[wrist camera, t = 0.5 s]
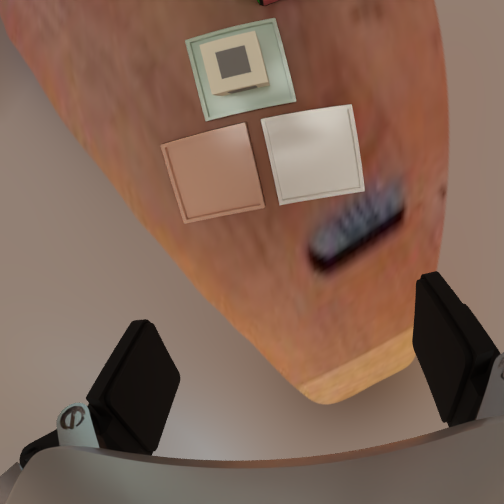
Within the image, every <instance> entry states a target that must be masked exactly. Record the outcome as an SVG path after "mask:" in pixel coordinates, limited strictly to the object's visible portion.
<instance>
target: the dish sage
mask: <svg viewBox="0 0 504 504" xmlns="http://www.w3.org/2000/svg"><path fill="white" fill-rule="evenodd" d="M251 31H255V32H256V35H257V37H258V40H259V44H260V47H261V51H262V55H263V59H264V63H265V67H266V71H267V75H268V79H269V83H270V86H265V87H260V88H255V89H251V90H246V91H242V92H238V93H233V94H229V95H225V96H216V95H212V93H211V89H210V85H209V81H208V77H207V73H206V69H205V66H204V62H203V58H202V54H201V50H200V46H199V45H201V44H204V43H207V42H211V41H215V40H218V39H222V38H226V37H230V36H234V35H238V34H242V33H247V32H251ZM185 42H186V46H187V50H188V54H189V58H190V62H191V66H192V70H193V74H194V78H195V82H196V86H197V90H198V94H199V98H200V102H201V106H202V109H203V113H204V117H205V121H210V120H213V119H217V118H221V117H225V116H229V115H233V114H238V113H242V112H246V111H251V110H255V109H260V108H265V107H270V106H275V105H280V104H286V103H291V102H296V97H295V93H294V89H293V84H292V80H291V76H290V72H289V68H288V64H287V60H286V56H285V52H284V48H283V44H282V41H281V37H280V33H279V30H278V26H277V22H276V19H275V18H271V19H266V20H261V21H256V22H251V23H247V24H242V25H238V26H234V27H230V28H226V29H222V30H218V31H215V32H211V33H207V34H204V35H201V36H197V37H194V38H191V39H188V40H185Z"/></svg>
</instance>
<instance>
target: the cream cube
mask: <svg viewBox="0 0 504 504" xmlns="http://www.w3.org/2000/svg"><path fill="white" fill-rule="evenodd" d="M199 46H200V50H201V54H202V58H203V62H204V66H205V69H206V73H207V77H208V81H209V85H210V89H211V93H212V95H216V96H225V95H229V94H233V93H238V92H242V91H246V90H251V89H255V88H260V87H265V86H270V83H269V79H268V75H267V71H266V67H265V63H264V59H263V55H262V51H261V47H260V44H259V40H258V37H257V35H256V32H255V31H251V32H247V33H242V34H238V35H234V36H230V37H226V38H222V39H218V40H215V41H211V42H207V43H204V44H201V45H199Z"/></svg>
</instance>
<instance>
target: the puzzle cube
mask: <svg viewBox="0 0 504 504" xmlns="http://www.w3.org/2000/svg"><path fill="white" fill-rule="evenodd" d="M257 1H258V2H259V4H260V5H263V6H265V5H267V4H270V3H273V2H276V1H279V0H257Z"/></svg>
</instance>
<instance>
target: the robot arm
mask: <svg viewBox="0 0 504 504" xmlns="http://www.w3.org/2000/svg"><path fill="white" fill-rule="evenodd" d="M412 342H413V348H414V351H415V353H416V356H417V358H418V360H419V363H420V365H421V368H422V370H423V372H424V375H425V377H426V380H427V382H428V385H429V387H430V390H431V393H432V395H433V398H434V401H435V403H436V406H437V409H438V412H439V414H440V417H441V419H442V421H443V422H444V423H445V422H447V423H448V426H449V428H446V429H443V430H439V431H436V432H433V433H429V434H426V435H422V436H418V437H414V438H410V439H406V440H402V441H398V442H394V443H389V444H385V445H381V446H376V447H371V448H366V449H361V450H355V451H349V452H342V453H336V454H329V455H321V456H313V457H302V458H291V459H276V460H255V461H254V460H252V461H217V460H194V459H178V458H167V457H158V456H152V453H153V451H155V450H156V449H157V447H158V444H159V441H160V438H161V435H162V432H163V429H164V426H165V423H166V420H167V418H168V415H169V412H170V409H171V406H172V403H173V400H174V397H175V394H176V391H177V389H178V386H179V383H180V374H179V371H178V370H177V368H176V366H175V364H174V362H173V361H172V359H171V357H170V355H169V353H168V351H167V349H166V347H165V346H164V343H163V341H162V339H161V337H160V335H159V333H158V331H157V330H156V327H155V326H154V324H153V323H150V321H148V320H146V319H145V320H135V321H132V322H131V324H130V325H129V327H128V328H127V330H126V332H125V333H124V335H123V336H122V338H121V339H120V341H119V343H118V345H117V346H116V348H115V349H114V351H113V353H112V354H111V356H110V358H109V359H108V361H107V363H106V364H105V366H104V367H103V369H102V371H101V372H100V374H99V376H98V378H97V379H96V381H95V383H94V384H93V386H92V388H91V390H90V391H89V393H88V395H87V397H86V399H87V401H88V402H89V405H88V406H86V405H85V404H83V403H74V404H71V405H69V406H67V407H66V408H65V409H63V410H62V411H61V413H60V415H59V416H58V419H57V429H56V430H54V431H53V432H51V433H49V434H47V435H45V436H43V437H41V438H39V439H38V440H36V441H34V442H32V443H30V444H29V445H27V446H26V447H24V449H23V450H22V453H21V455H20V464H19V463H18V462H16V463H15V464H14V465H13V466H12V467H10V468H9V469H8V470H7V471H6V472H5V473H4V474H2V475H1V476H0V504H504V353H502V354H500V352H499V351H498V349H497V347H496V346H495V345H494V343H493V341H492V340H491V338H490V337H489V336H488V334H487V333H486V331H485V330H484V328H483V327H482V325H481V324H480V323H479V321H478V320H477V318H476V317H475V316H474V314H473V313H472V312H471V310H470V309H469V307H468V306H467V305H466V304H463V303H462V302H461V301H460V299H459V298H458V297H457V295H456V294H455V293H454V291H453V290H452V289H451V288H450V286H449V285H448V284H447V282H446V281H445V280H444V279H443V277H442V276H441V275H440V274H439V272H437V271H435V272H431V273H426V274H422V275H421V278H420V279H419V280H417V282H416V299H415V316H414V329H413V340H412Z"/></svg>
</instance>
